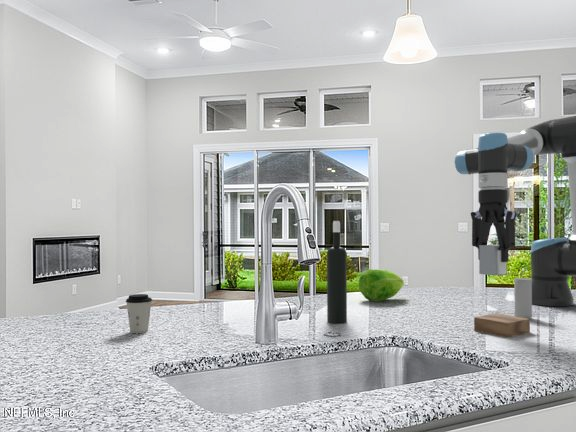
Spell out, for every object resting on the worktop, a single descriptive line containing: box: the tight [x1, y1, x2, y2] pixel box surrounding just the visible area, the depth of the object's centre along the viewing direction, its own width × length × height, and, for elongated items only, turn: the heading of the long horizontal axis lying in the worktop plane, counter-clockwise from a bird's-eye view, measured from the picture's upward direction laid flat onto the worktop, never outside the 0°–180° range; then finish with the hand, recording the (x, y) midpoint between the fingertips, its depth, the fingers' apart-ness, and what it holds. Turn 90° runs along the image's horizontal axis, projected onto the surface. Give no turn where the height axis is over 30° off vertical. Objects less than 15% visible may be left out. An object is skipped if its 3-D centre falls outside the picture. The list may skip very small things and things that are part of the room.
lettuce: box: [358, 268, 405, 303], centre depth 193 cm, size 14×20×12 cm
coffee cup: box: [125, 293, 153, 335], centre depth 140 cm, size 7×7×10 cm
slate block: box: [478, 244, 508, 276], centre depth 143 cm, size 5×5×8 cm
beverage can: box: [513, 277, 533, 320], centre depth 157 cm, size 5×5×12 cm
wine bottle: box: [326, 220, 348, 325], centre depth 153 cm, size 6×6×30 cm
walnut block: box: [473, 312, 531, 338], centre depth 139 cm, size 10×10×4 cm
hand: (493, 273), depth 142 cm, fingers closed on slate block, 5 cm apart
